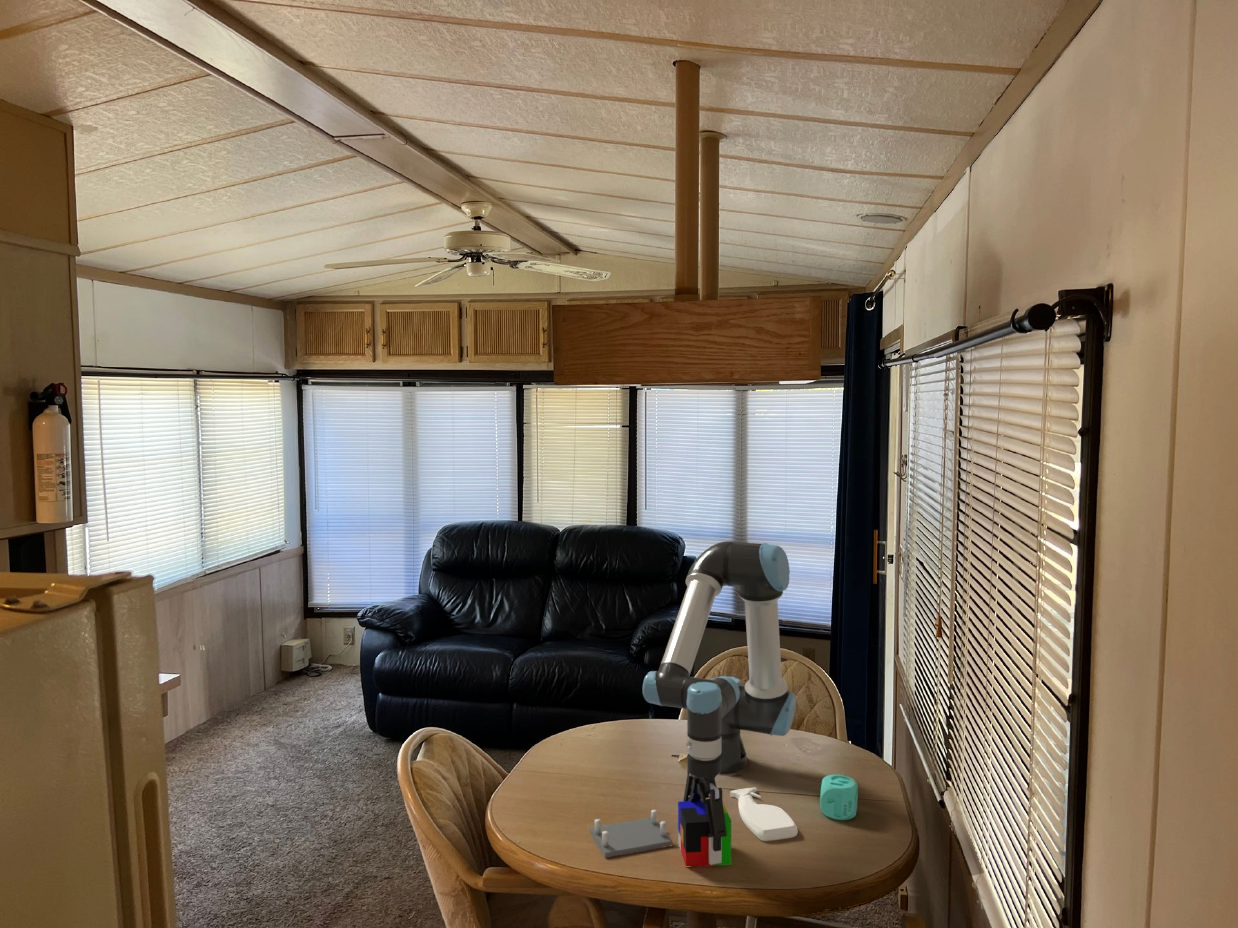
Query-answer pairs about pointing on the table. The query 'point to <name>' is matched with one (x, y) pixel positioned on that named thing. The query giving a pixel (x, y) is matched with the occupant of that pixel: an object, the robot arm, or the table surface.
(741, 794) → the spray bottle
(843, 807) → the decorative dice
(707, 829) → the puzzle toy
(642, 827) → the pin tray
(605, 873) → the table surface
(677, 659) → the robot arm
